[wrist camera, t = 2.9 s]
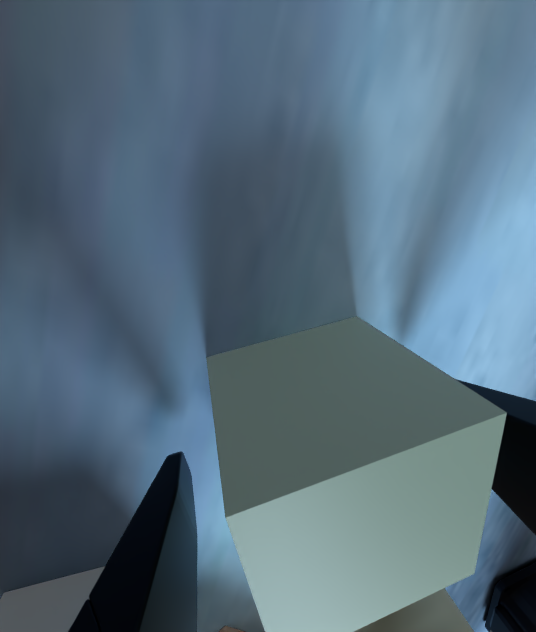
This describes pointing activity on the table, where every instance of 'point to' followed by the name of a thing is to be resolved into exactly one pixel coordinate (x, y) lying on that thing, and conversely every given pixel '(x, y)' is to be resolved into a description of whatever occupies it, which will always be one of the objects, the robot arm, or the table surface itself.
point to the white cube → (47, 603)
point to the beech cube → (423, 617)
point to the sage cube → (349, 474)
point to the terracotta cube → (229, 629)
